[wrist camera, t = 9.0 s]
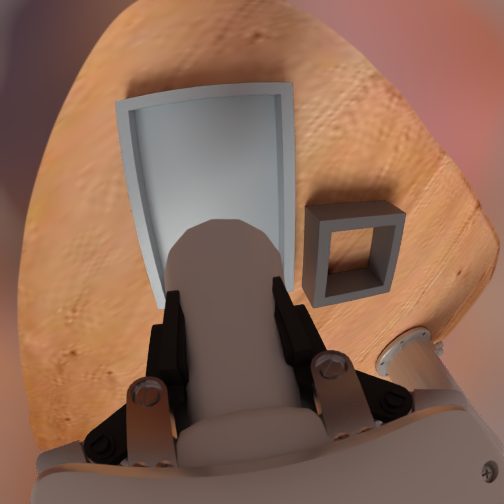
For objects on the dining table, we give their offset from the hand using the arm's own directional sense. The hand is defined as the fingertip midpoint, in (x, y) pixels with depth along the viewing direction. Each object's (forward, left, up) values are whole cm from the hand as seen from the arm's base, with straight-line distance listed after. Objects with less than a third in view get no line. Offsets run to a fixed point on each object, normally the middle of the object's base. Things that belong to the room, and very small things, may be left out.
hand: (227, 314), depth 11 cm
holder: (-14, +7, -17) cm, 23 cm away
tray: (0, 0, -17) cm, 17 cm away
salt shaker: (0, 0, -5) cm, 5 cm away
